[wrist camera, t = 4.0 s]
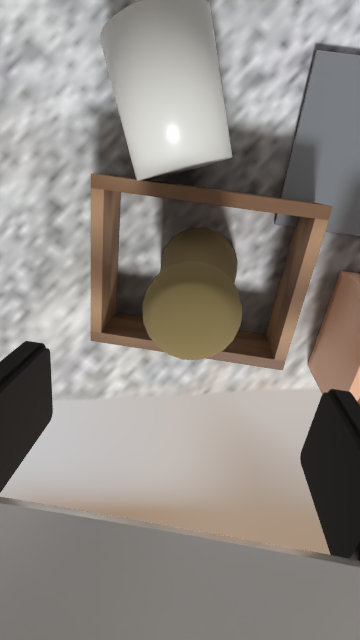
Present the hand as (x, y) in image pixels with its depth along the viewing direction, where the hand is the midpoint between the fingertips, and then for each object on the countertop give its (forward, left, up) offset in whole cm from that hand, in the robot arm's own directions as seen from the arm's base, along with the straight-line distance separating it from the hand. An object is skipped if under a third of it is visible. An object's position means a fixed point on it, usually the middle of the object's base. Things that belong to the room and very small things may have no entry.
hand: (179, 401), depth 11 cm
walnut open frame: (-1, 0, -16) cm, 16 cm away
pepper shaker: (-1, 0, -16) cm, 16 cm away
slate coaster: (-10, +10, -16) cm, 21 cm away
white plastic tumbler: (-11, -3, -16) cm, 19 cm away
